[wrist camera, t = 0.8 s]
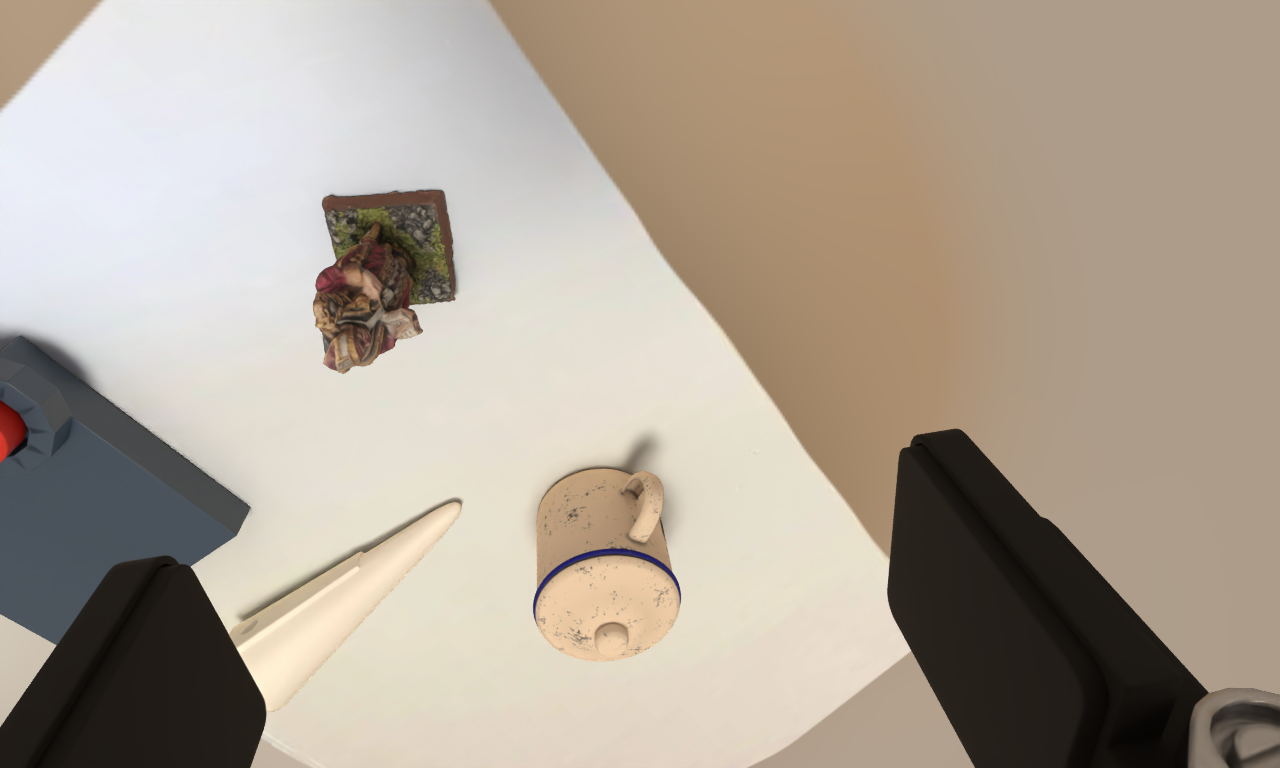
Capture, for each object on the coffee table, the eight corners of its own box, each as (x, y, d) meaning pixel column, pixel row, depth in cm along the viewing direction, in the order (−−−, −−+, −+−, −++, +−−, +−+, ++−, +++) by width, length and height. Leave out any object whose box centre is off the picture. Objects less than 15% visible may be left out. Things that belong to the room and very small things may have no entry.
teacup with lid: (626, 574, 57) (645, 710, 47) (513, 542, 54) (508, 680, 44) (704, 455, 52) (744, 579, 42) (584, 412, 49) (596, 535, 39)
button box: (-176, 466, 44) (-243, 517, 40) (15, 310, 41) (-39, 349, 37) (85, 619, 53) (50, 672, 49) (262, 499, 49) (239, 547, 45)
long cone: (509, 536, 56) (299, 668, 57) (455, 476, 53) (237, 615, 54) (509, 585, 50) (278, 728, 52) (449, 520, 48) (208, 674, 49)
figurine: (349, 306, 43) (291, 424, 33) (320, 195, 40) (245, 288, 30) (462, 298, 44) (438, 411, 33) (443, 187, 40) (410, 276, 30)
